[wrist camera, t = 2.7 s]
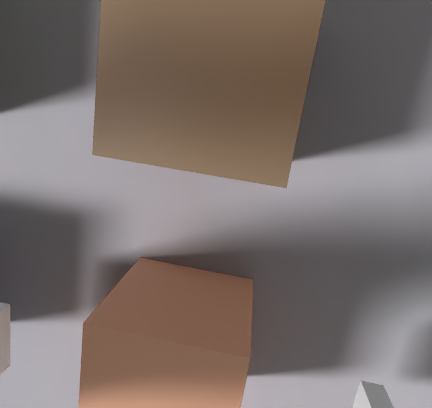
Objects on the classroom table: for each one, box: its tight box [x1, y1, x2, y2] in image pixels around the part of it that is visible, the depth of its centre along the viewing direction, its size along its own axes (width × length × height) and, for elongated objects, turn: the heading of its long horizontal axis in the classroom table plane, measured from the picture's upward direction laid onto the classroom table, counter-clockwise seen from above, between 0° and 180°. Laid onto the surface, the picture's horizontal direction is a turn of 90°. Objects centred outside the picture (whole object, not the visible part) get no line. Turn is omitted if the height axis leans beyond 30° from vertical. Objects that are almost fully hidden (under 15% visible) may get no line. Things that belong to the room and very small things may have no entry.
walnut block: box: [92, 0, 326, 188], centre depth 10 cm, size 5×5×5 cm
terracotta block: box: [79, 257, 253, 408], centre depth 13 cm, size 5×5×5 cm
